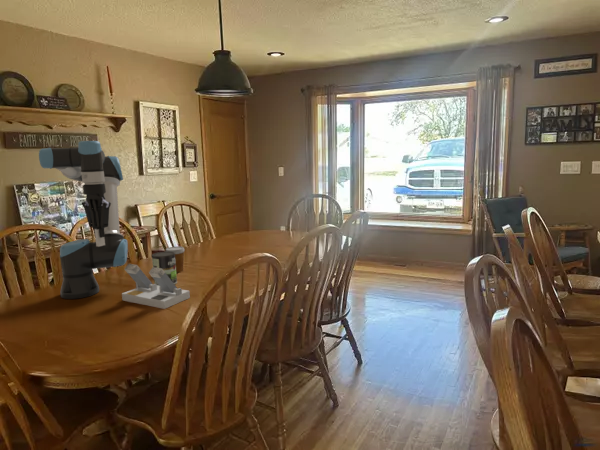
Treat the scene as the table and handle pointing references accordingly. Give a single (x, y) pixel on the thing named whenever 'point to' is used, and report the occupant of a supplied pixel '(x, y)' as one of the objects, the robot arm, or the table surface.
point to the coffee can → (165, 264)
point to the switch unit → (155, 296)
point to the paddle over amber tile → (138, 276)
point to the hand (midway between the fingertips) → (100, 245)
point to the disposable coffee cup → (178, 257)
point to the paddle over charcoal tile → (162, 280)
